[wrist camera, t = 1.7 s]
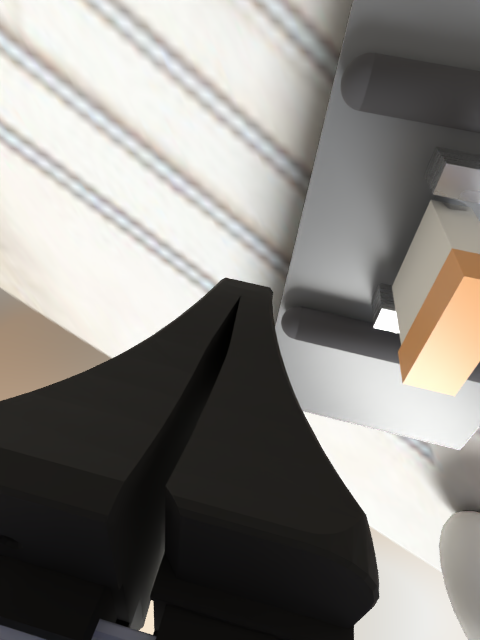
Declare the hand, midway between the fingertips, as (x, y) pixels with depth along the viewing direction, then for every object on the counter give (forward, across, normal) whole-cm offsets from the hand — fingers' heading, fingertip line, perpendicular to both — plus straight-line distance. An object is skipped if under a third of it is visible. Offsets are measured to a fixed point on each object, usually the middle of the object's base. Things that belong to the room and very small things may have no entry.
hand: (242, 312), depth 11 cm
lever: (+6, -6, 0) cm, 9 cm away
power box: (+10, -7, +2) cm, 13 cm away
